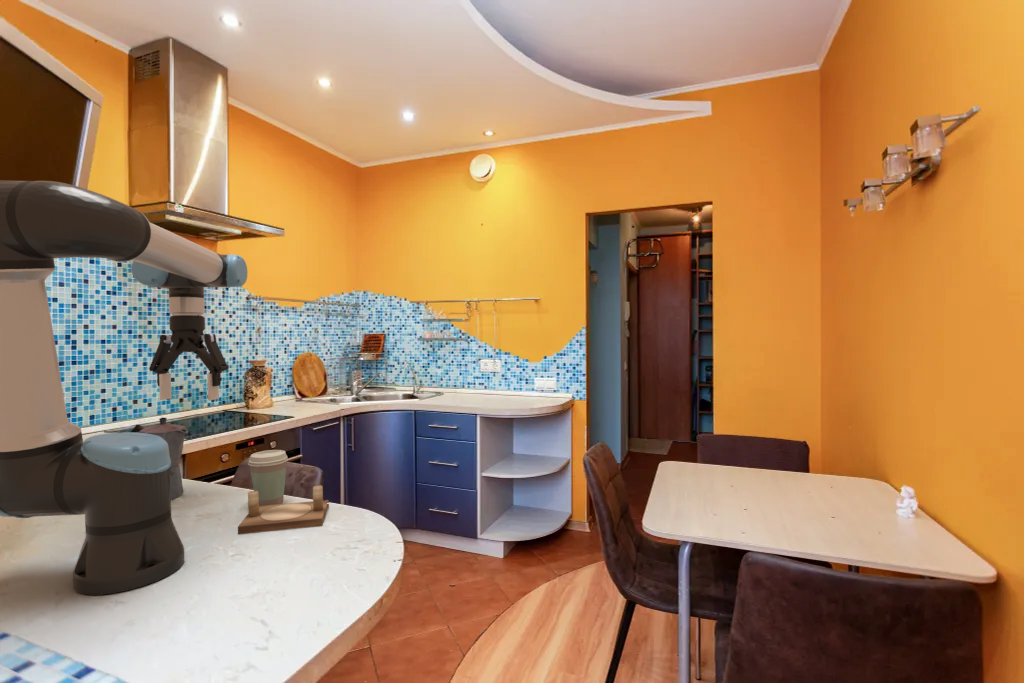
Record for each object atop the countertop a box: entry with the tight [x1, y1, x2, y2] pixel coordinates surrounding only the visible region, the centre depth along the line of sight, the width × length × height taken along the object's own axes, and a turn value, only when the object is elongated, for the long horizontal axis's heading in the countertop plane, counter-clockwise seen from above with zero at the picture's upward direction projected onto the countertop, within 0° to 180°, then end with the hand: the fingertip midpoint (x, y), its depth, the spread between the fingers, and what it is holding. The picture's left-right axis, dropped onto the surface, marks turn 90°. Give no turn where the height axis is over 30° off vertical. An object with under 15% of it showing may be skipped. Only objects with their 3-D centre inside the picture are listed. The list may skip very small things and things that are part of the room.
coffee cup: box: [247, 449, 289, 506], centre depth 119 cm, size 9×8×12 cm
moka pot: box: [130, 417, 189, 500], centre depth 125 cm, size 10×15×20 cm, turn 89°
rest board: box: [237, 485, 330, 535], centre depth 109 cm, size 12×16×6 cm
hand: (189, 399), depth 126 cm, fingers open, 13 cm apart
